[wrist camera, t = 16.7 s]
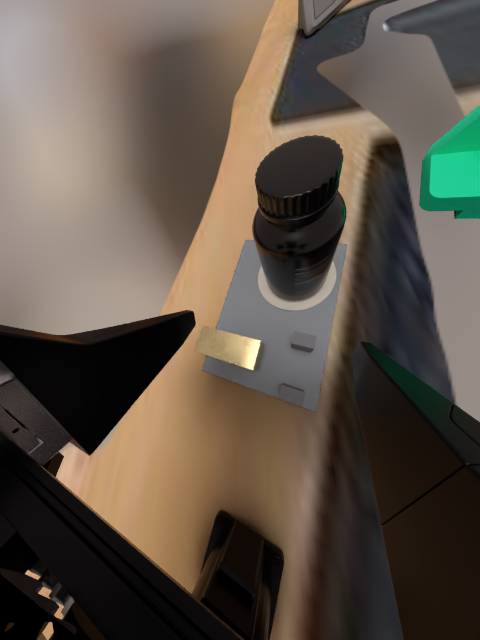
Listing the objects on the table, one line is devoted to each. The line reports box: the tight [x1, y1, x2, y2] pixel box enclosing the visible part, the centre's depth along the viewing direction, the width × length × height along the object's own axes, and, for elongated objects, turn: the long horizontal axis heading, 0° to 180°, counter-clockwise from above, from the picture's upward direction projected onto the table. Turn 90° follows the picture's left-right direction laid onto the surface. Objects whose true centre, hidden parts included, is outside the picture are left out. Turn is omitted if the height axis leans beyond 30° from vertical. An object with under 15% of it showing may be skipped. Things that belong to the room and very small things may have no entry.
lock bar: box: [194, 326, 264, 371], centre depth 19 cm, size 3×7×2 cm, turn 73°
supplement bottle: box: [252, 135, 346, 301], centre depth 15 cm, size 7×7×12 cm
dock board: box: [202, 240, 347, 412], centre depth 19 cm, size 19×13×4 cm
